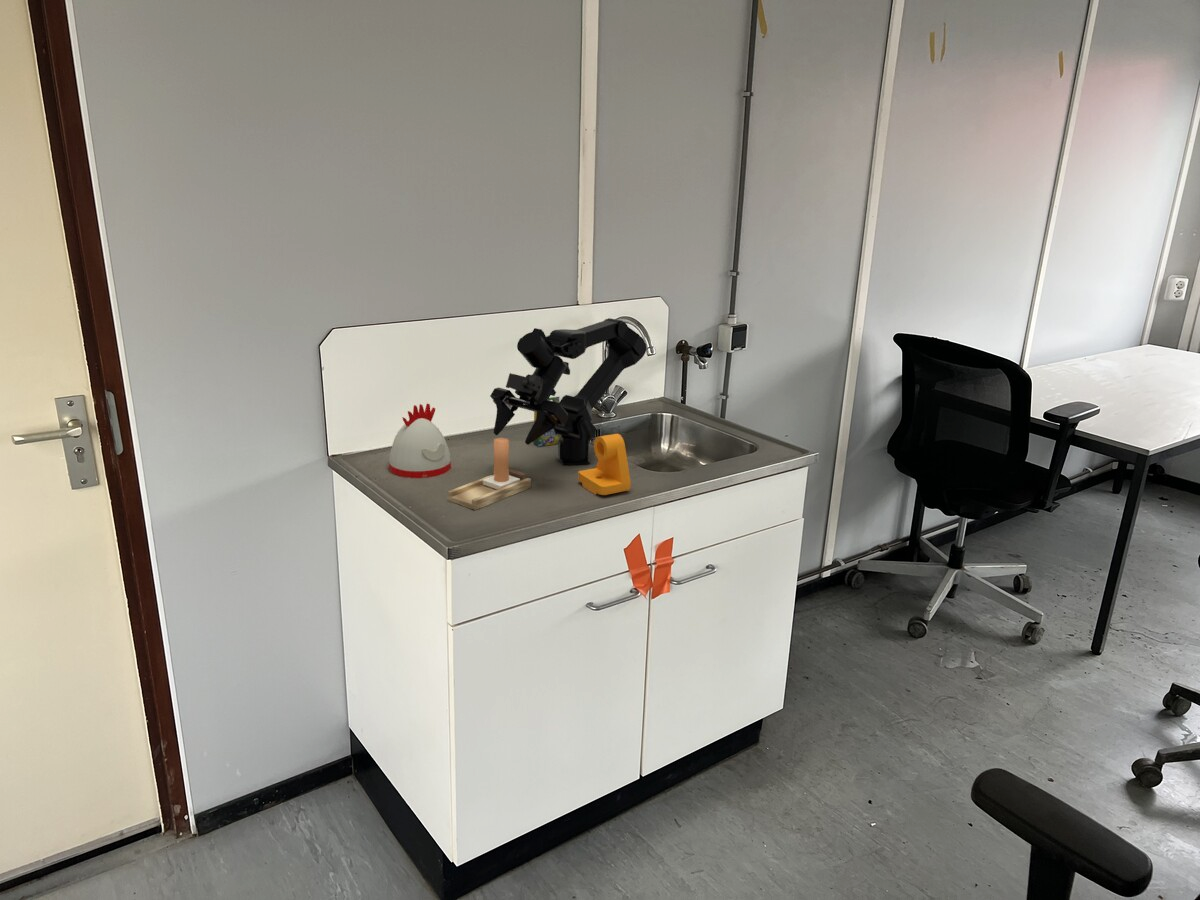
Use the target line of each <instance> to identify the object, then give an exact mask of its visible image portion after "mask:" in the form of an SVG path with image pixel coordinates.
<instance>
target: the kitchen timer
mask: <svg viewBox="0 0 1200 900" xmlns="http://www.w3.org/2000/svg"><path fill="white" fill-rule="evenodd" d="M412 410H413V411H412V412H411V411H409V410H408V411H407V416H408V420H407V419H406V417H401V418H402V420H403V423H404V424H403V425H402V426H401V427H400V429H399V430H398V431H397V433H396V434H395V437H394V439H393V441H392V446H391V449H390V453H389V461H388V466H389V471H390V473H392V474H393V473H394V475H395V474H396V475H395V476H398V475H399V477H403V478H408V477H410V479H423V478H424V477H427V478H433V477H437V476H440V475H443V474H446V473H448V472H449V471H450V470H451V468H452V465H451V463H452V462H451V461H452V460H451V454H450V453H451V452H450V450H449V447H448V444H447V441H446V438H445V436H444V435H443V433H442V431H441V430H440V429H439V427H438V426H436V425H435V424H434V423H433V422H432V420H433V417H434V415H435V411H436V408H435V407H432V408H431V405H430V403H428V402H427V403H426V406H425V409H424V406H423V404H421V403H419V406H417V405H416V404H414V405H413V409H412Z"/></svg>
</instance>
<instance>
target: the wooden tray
mask: <svg viewBox="0 0 1200 900" xmlns="http://www.w3.org/2000/svg"><path fill="white" fill-rule="evenodd" d="M509 475H510V476H513V477H516V478H519V479H520V481H518V482H516V483H513V484H511V485H508V486H506V487H503V488H501V489H495V488H492V487H489V486H486V485H483V480H484V479H487V478H489V477H492V476H494V473H493V474H490V475H487V476H484V477H482V478H479V479H477V480H474V481H471V482H469V483H467V484H464V485H461V486H458V487H456V488H453V489H451V490H448V491H447V501H449V502H452V503H454V504H457V505H460V506H463V507H465V508H468V509H470V508H471V510H473V509H474V510H473V511H477V510H479V508H480V509H482V508H484V507H487V506H489V505H492V504H494V503H496V502H499V501H501V500H504V499H507V498H509V497H511V496H513V495H516V494H518V493H520V492H521V493H522V492H524V491H526V490H529V489H531V488H532V487H531V486H532V484H531V483H532V479H531V478H529V477H527V473H524V472H521V471H517V470H514V469H510V468H509ZM476 509H477V510H476Z"/></svg>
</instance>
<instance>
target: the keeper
mask: <svg viewBox="0 0 1200 900" xmlns="http://www.w3.org/2000/svg"><path fill="white" fill-rule="evenodd" d="M509 445H510V440H509V438H506V437H496V438H494V439H493V474H494V476H492V477H489V478H487V479H484V480H483V485H486V486H489V487H492V488H495V489H501V488H503V487H506V486H508V485H511V484H513V483H516V482H518V481H520V479H519V478H516V477H513V476H510V475H509V469H510V446H509Z"/></svg>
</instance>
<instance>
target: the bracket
mask: <svg viewBox="0 0 1200 900" xmlns="http://www.w3.org/2000/svg"><path fill="white" fill-rule="evenodd" d="M593 451H594V454H595V457H596V458H597V459H598V460H597V462H596V466H595V467H594V468H589V469H584V470H579V471H578V472H577V473H578V474H577V481H578V482H580V483H581V484H582V485H581V487H582V486H583V488H584V489H586V490H587V491H589V492H590V491H591V493H594V494H593V495H595V494H598V495H601V496H607V495H611V494H617V493H621V492H625V491H627V492H628V491H630V490H631V482H632V481H631V475H630V467H629V464H628V463H629V462H628V456H627V449H626V445H625V439H624V437H622V435H621V434H620V433H613V434H606V435H601V436H596V437H595V439H594V441H593Z"/></svg>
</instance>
